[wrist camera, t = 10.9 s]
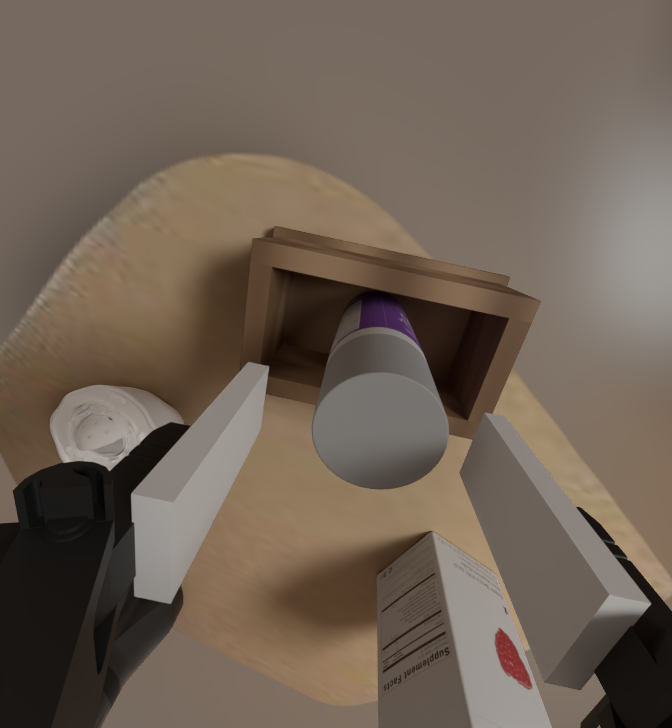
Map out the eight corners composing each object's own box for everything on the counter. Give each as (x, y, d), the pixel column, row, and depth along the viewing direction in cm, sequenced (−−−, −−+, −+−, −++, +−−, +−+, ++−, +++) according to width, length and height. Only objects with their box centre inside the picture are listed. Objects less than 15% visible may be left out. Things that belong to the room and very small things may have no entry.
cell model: (129, 478, 34) (75, 533, 28) (78, 369, 30) (1, 406, 24) (222, 470, 33) (188, 528, 27) (183, 355, 29) (130, 390, 22)
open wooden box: (262, 355, 28) (229, 393, 21) (277, 226, 24) (244, 225, 18) (457, 398, 28) (484, 450, 21) (504, 275, 24) (555, 292, 17)
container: (419, 314, 24) (485, 422, 11) (380, 363, 26) (393, 514, 12) (366, 276, 24) (361, 339, 10) (329, 329, 25) (281, 447, 12)
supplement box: (499, 573, 34) (586, 805, 21) (437, 614, 38) (476, 840, 24) (431, 527, 33) (477, 743, 19) (373, 574, 36) (375, 789, 22)
